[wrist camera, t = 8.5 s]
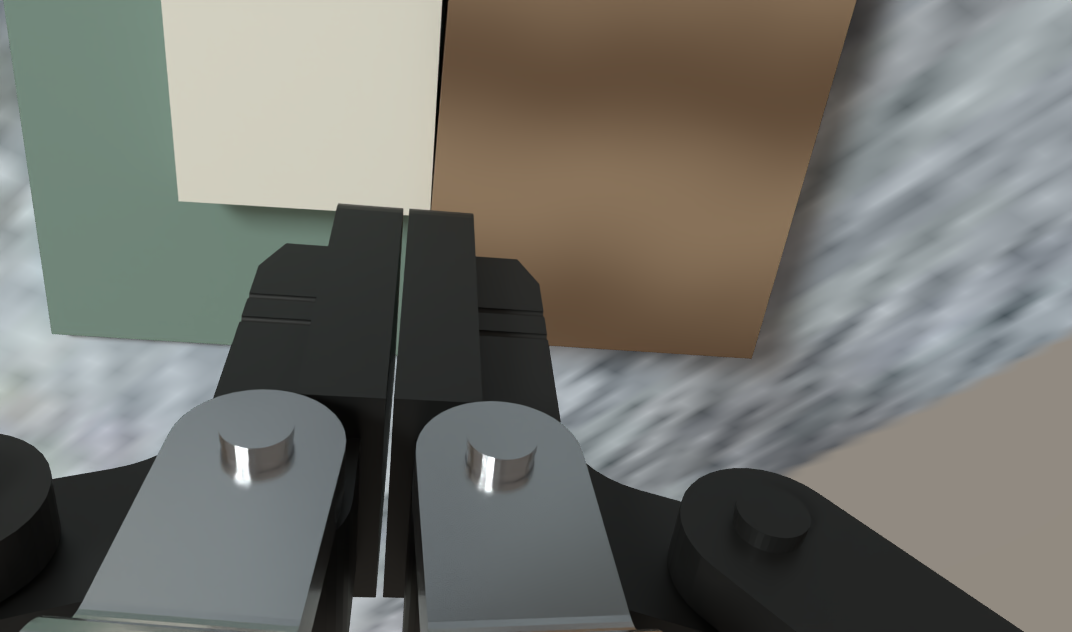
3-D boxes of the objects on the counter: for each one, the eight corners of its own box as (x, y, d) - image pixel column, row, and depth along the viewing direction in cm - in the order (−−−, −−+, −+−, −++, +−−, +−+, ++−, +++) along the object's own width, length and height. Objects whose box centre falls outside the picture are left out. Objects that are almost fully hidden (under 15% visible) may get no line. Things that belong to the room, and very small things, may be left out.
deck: (479, -408, 19) (484, -425, 17) (903, -335, 20) (956, -342, 18) (422, 289, 27) (421, 337, 25) (728, 311, 29) (751, 358, 26)
